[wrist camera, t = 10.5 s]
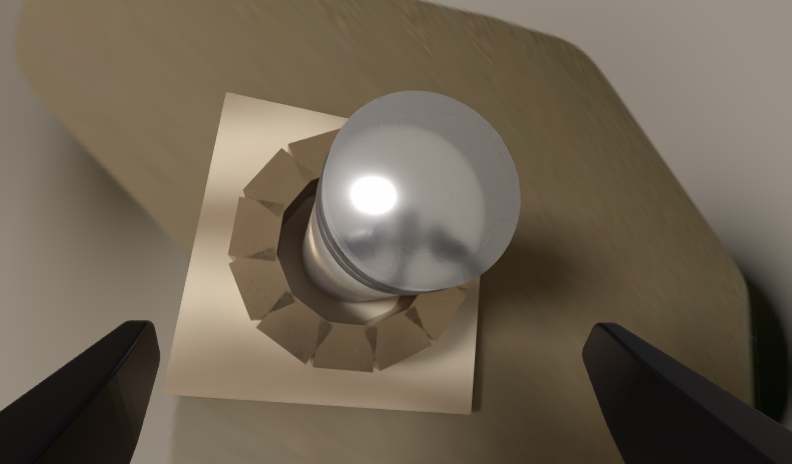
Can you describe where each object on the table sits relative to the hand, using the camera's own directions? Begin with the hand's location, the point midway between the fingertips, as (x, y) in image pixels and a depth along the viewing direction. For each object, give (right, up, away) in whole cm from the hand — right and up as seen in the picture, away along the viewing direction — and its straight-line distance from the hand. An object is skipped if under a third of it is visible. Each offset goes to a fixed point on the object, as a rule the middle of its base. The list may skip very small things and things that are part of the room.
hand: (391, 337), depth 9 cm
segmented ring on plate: (-2, +1, +13) cm, 13 cm away
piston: (-2, +1, +12) cm, 12 cm away
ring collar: (-2, +1, +13) cm, 13 cm away
